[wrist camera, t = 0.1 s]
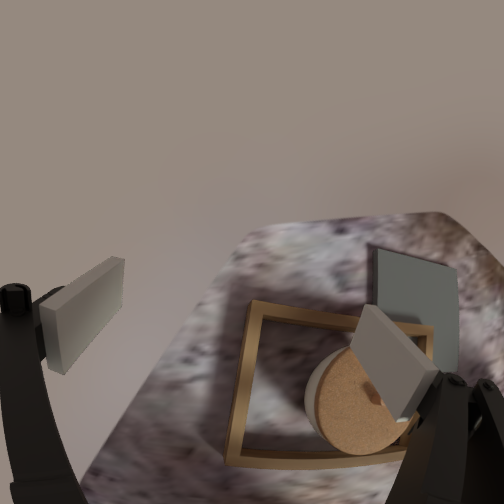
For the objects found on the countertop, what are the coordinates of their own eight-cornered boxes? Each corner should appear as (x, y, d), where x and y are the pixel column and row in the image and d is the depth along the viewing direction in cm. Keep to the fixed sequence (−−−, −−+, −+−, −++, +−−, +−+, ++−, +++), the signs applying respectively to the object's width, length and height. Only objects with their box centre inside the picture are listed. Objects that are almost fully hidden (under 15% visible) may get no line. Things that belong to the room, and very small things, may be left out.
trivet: (451, 372, 31) (457, 371, 29) (367, 372, 29) (372, 372, 28) (451, 271, 36) (456, 269, 35) (373, 251, 35) (377, 248, 34)
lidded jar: (354, 448, 26) (402, 468, 17) (272, 419, 26) (301, 441, 18) (390, 365, 30) (443, 361, 21) (316, 330, 30) (359, 315, 22)
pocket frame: (404, 452, 26) (418, 456, 23) (223, 455, 24) (225, 465, 21) (418, 329, 32) (433, 326, 29) (247, 305, 30) (252, 299, 27)
